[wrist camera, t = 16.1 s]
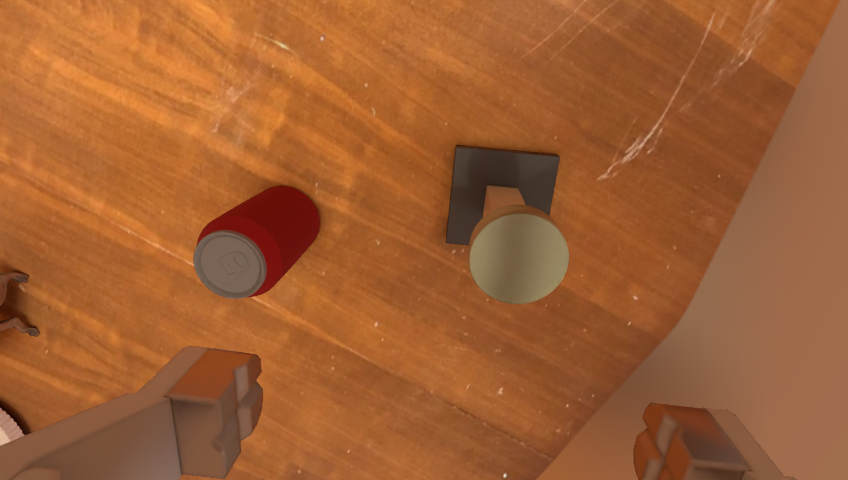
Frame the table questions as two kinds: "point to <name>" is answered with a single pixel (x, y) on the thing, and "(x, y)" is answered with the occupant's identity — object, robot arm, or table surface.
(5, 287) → the dinosaur figurine
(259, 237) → the beverage can
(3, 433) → the plastic lid
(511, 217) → the disc
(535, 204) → the stand
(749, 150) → the table surface
